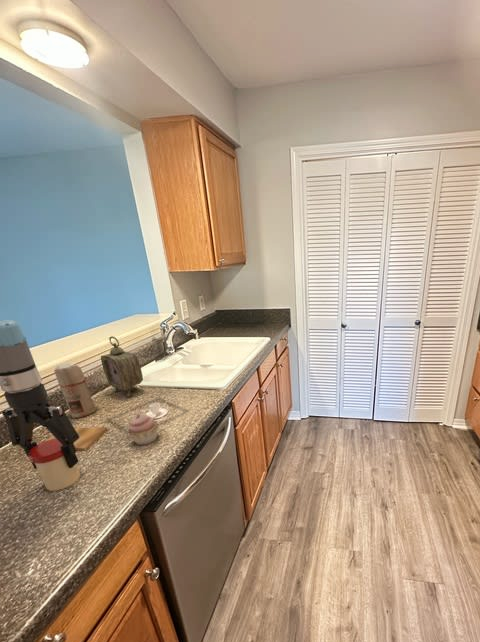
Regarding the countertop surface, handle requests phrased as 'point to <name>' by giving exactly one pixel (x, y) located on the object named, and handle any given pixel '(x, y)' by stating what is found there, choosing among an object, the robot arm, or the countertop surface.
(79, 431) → the board
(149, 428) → the cupcake
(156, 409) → the teacup and saucer
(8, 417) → the robot arm
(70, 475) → the jar
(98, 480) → the countertop surface
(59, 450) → the lid
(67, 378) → the tan tall cylinder
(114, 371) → the tabletop clock
